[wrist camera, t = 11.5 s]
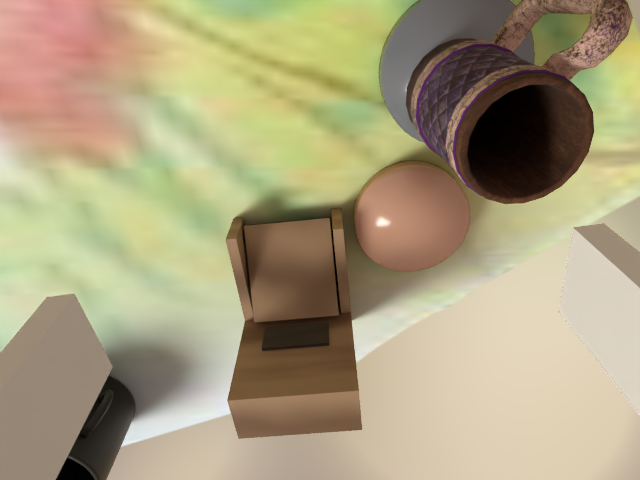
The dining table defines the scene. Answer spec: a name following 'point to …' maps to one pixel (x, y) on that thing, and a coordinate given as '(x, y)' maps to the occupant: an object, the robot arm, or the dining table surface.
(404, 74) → the stand slate
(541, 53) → the dining table surface
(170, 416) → the dining table surface
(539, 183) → the mug
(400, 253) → the pink disc
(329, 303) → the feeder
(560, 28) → the dining table surface
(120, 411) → the mug
